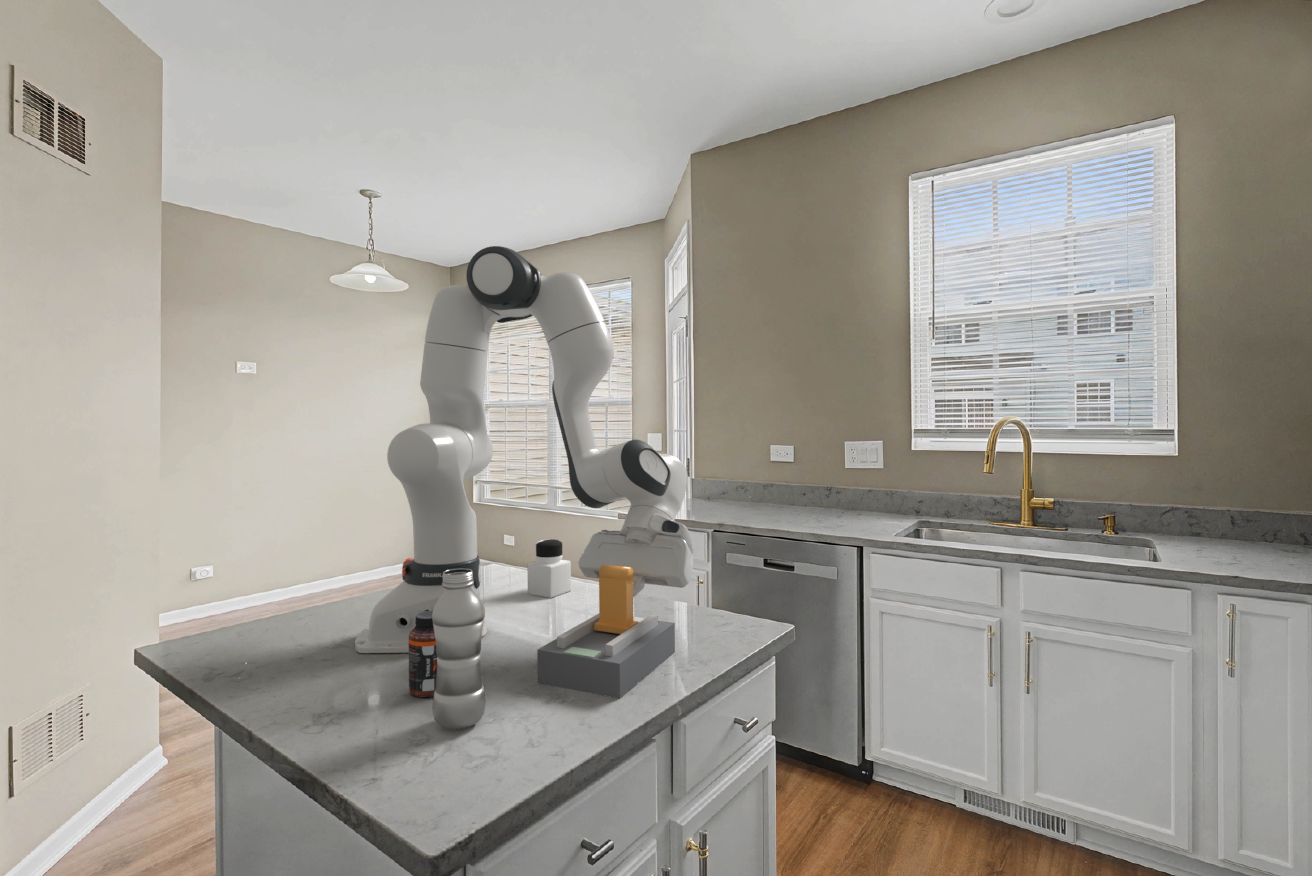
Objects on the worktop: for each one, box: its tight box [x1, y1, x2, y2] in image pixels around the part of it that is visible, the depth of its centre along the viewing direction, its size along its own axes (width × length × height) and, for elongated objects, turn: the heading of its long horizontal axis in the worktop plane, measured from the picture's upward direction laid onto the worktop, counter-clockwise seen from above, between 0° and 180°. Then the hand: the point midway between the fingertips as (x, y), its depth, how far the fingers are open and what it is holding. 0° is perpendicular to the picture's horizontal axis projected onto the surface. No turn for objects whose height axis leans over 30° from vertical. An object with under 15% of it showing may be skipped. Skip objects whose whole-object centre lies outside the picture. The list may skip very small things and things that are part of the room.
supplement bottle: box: [408, 611, 437, 698], centre depth 95 cm, size 6×6×11 cm
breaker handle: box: [594, 565, 638, 634], centre depth 105 cm, size 4×6×10 cm, turn 65°
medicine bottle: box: [526, 538, 572, 599], centre depth 148 cm, size 7×7×12 cm
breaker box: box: [536, 613, 676, 699], centre depth 104 cm, size 20×14×7 cm
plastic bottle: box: [431, 569, 487, 730], centre depth 84 cm, size 6×7×20 cm
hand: (621, 602), depth 107 cm, fingers closed, pressing on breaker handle
